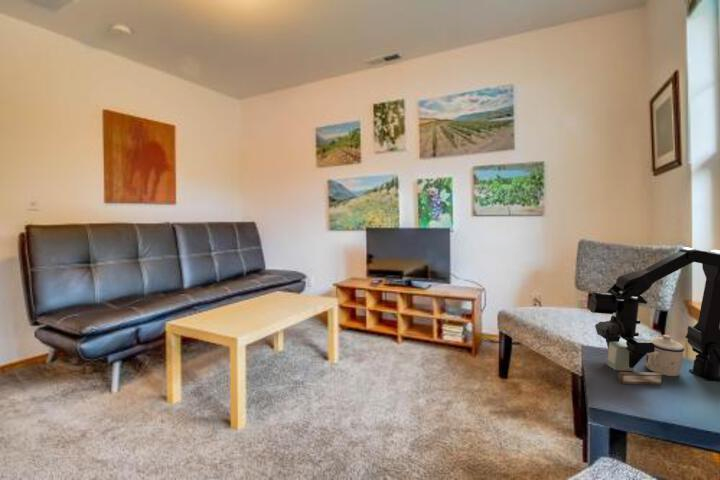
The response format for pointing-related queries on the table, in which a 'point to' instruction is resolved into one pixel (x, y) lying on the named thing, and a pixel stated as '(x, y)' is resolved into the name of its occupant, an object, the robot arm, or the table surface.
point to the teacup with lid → (665, 356)
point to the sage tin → (618, 356)
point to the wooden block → (639, 378)
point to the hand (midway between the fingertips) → (620, 360)
